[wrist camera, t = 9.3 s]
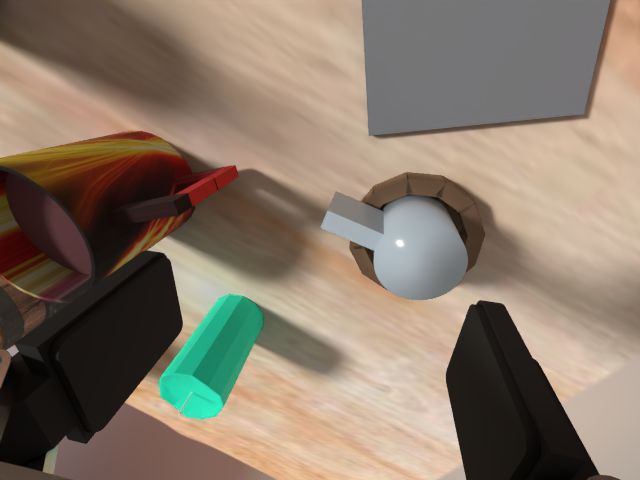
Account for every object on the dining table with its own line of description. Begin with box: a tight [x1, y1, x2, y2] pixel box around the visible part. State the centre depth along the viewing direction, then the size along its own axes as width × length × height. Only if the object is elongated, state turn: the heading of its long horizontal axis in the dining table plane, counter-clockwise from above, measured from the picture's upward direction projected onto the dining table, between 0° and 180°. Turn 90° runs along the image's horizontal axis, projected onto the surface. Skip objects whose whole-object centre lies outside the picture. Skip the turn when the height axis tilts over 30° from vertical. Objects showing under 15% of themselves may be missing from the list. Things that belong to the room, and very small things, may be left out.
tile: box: [362, 0, 610, 136], centre depth 19 cm, size 14×14×1 cm
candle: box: [159, 294, 263, 419], centre depth 30 cm, size 6×6×12 cm
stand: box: [349, 172, 485, 290], centre depth 26 cm, size 10×10×2 cm
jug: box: [320, 191, 468, 300], centre depth 24 cm, size 10×6×7 cm, turn 69°
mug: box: [0, 131, 238, 303], centre depth 24 cm, size 10×14×12 cm
